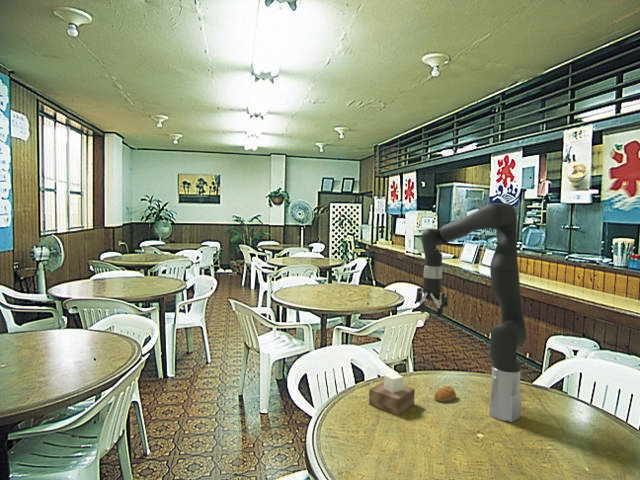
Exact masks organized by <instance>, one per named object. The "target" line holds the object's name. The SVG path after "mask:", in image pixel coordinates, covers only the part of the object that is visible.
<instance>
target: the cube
mask: <svg viewBox="0 0 640 480" xmlns="http://www.w3.org/2000/svg"><path fill="white" fill-rule="evenodd" d="M383 382H384V389H386V390H388V391H390V392H392V393H395V392H398V391H402V390H403V385H404V376H402V375H400V374H398V373H396V372H390V373H386V374H383Z"/></svg>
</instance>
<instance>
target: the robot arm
mask: <svg viewBox="0 0 640 480" xmlns="http://www.w3.org/2000/svg"><path fill="white" fill-rule="evenodd" d="M517 219H518V217H517V212H516V209H515V207H514V206H513V205H512V204H511V203H509V202H508V203H507V202H492V203H488V204H486V205H484V206H483V207H481V208H479V209H478V210H475V212H473V213H470V214H468V215H467V216H464V217H462V218H459V219H457V220H452V221H451V222H447V223H446V224H443V225H442V227H440V228H427V229H425V230H424V231H423V232H422V233H421V234H422V235H421V244H422V248H423V253H424V268H423V278H422V287H418V288H416V299H415V301H416V302H418V303H419V312H420V313H421V314H426V313H425V312H426V303H427V301H431V302H434V304H435V305H436V306H437V311H436V313H437V314H436V317H437V318H442V317H443V313H444V308H447V307H448V305H449V304H448V303H449V302H448V292H442V291H441V289H442V284H443V253H442V252H440V251H437V249H436V246H437V247H438V246H439V247H440V246H444V245H447V244H449V243H450V242H451V241H454V240H455V241H456V240H459V239H462V238H464V237H466V236H468V235H469V234H471V233H472V232H475V231H479V230H486V229H487V230H488V229H489V230H490V229H491V230H496V239H497V240H496V248H495V251H494V253H493V256H492V258H491V261H490V266H489V267H490V268H489V269H490V283H491V286H492V289H493V292H494V295H495V296H496V298H497V300H498V303H499V305H500V309H501V323H497V324H496V325H494V327H492V329H491V333H490V349H489V351H490V359H491V364H492V365H491V377H490V394H489V395H490V396H489V397H490V398H489V399H490V400H489V414H490V416H492V417H493V418H495V419H497V420H500V421H504V422H509V423H514V422H515V421H518V420H519V419H521V413H522V398H523V397H522V395H523V392H522V391H521V390H520V387H521V372H522V371H521V369H522V364H521V361H520V360H519V359H517V348H519V347H522V346H523V345H524V344H525V343H526V340H527V330H526V329H527V328H526V324H525V318H524V315H523V308H522V295H521V286H520V285H521V283H520V272H519V262H518V261H519V260H518V249H517V227H518V226H517V224H518V223H517V222H518V221H517Z"/></svg>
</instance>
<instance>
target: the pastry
mask: <svg viewBox="0 0 640 480" xmlns="http://www.w3.org/2000/svg"><path fill="white" fill-rule="evenodd" d="M456 397H457V393H456V391H455V390H454V388H453V387H451V386H449V385H447V386H445V385H444V386H442V387H441V388H440V387H439V388H438V389H437V390H436V391H435V393H434V397H433V398H434V400H435V401H438V402H441V403H445V402H450V401H452V400H454V399H455V398H456Z"/></svg>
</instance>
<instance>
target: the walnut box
mask: <svg viewBox="0 0 640 480" xmlns="http://www.w3.org/2000/svg"><path fill="white" fill-rule="evenodd" d="M368 391H369V392H368V393H369V395H368V397H369V398H368V405H369V406H372V407H375V408H378V409H380V410H383V411H386V412H389V413H391V414H394V415H396V416H399V415H400V414H401V413H403V412H404V411H405V410H407V409H409V408H410V407H412V406H413V405H415V394H416V393H415V391H416V389H415V388H413V387H409V386H406V385H404V384H403V390H402V391H398V392H395V393H392V392H390V391H388V390H386V389H384V381H383V382H380V383H378V384H377V385H375V386H374V387H371V388H369V390H368Z"/></svg>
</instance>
